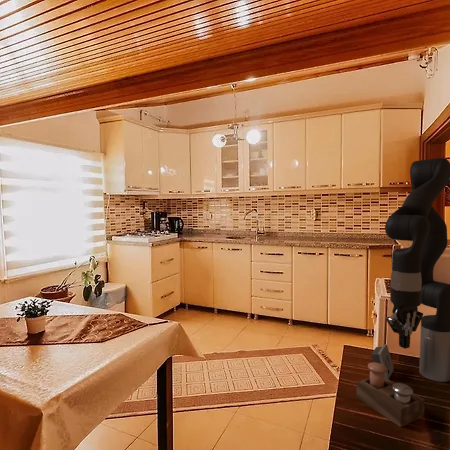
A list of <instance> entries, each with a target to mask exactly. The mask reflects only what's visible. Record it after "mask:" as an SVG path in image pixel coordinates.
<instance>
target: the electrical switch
mask: <svg viewBox="0 0 450 450" xmlns="http://www.w3.org/2000/svg"><path fill="white" fill-rule="evenodd" d="M370 356H371V360H372V362H376V363H380V364H383V365H384V366H386V368H387V371H386V373H384V378H386V379H388V380H390V377H391V376H392V374H393V372H394V369H395V368H394V364H393V362H392V357H391V353H390V351H389V347H388V344H387V343H386V344H383V345H382V346H376V347H375V348H374V349H373V351H372V352H371V353H370Z"/></svg>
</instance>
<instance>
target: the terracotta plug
mask: <svg viewBox="0 0 450 450" xmlns="http://www.w3.org/2000/svg"><path fill="white" fill-rule="evenodd" d="M367 369H368V370H369V378H370V385H372V386H373V387H375V388H377V389H381V388H383V387H384V378H385V377H384V373H386V371H387V368H386V366H384V365H383V364H380V363H376V362H373V361H372V362H369V363H368V364H367Z"/></svg>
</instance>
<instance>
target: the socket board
mask: <svg viewBox="0 0 450 450" xmlns="http://www.w3.org/2000/svg"><path fill="white" fill-rule="evenodd" d="M395 383H396V382H394V381H391V380H390V379H386V378H385V377H384V387H383V388H381V389H377V388H375V387H373V386H372V385H370V377H367V378H364V379H362V380H358V381H356V388H355V389H356V391H355V392H356V393H355V395H356V399H358V400H360V401H361V402H363V403H364V404H365V405H367V406H369V407H370V408H371V409H373V410H374V411H375V412H377V413H379V414H380V415H382V416H383V417H385V418H386V419H388V420H389V421H390V422H392V423H394V424H395V425H396V426H398V427H400V428H401V427H404V426H406V425H409V424H410V423H413V422H415V421H417V420H419V419H422V418H424V417H425V403H426V402H425V398H423V397H421V396H419V395H417V394H416V393H414V392H413V395H411V396H410V403H409V404H406V405H403V404H402V403H400V402H398V401H397V400H395V399H394V391H393V390H392V385H393V384H395Z"/></svg>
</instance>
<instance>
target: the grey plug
mask: <svg viewBox="0 0 450 450" xmlns="http://www.w3.org/2000/svg"><path fill="white" fill-rule="evenodd" d="M394 383H395V384H393V385H392V390H393V391H394V399H395V400H397V401H398V402H400V403H402V404H403V405H406V404H409V403H410V396H411V395H413V393H414V390H413V387H411V386H410V385H407V384H405V383H401V382H394Z"/></svg>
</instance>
